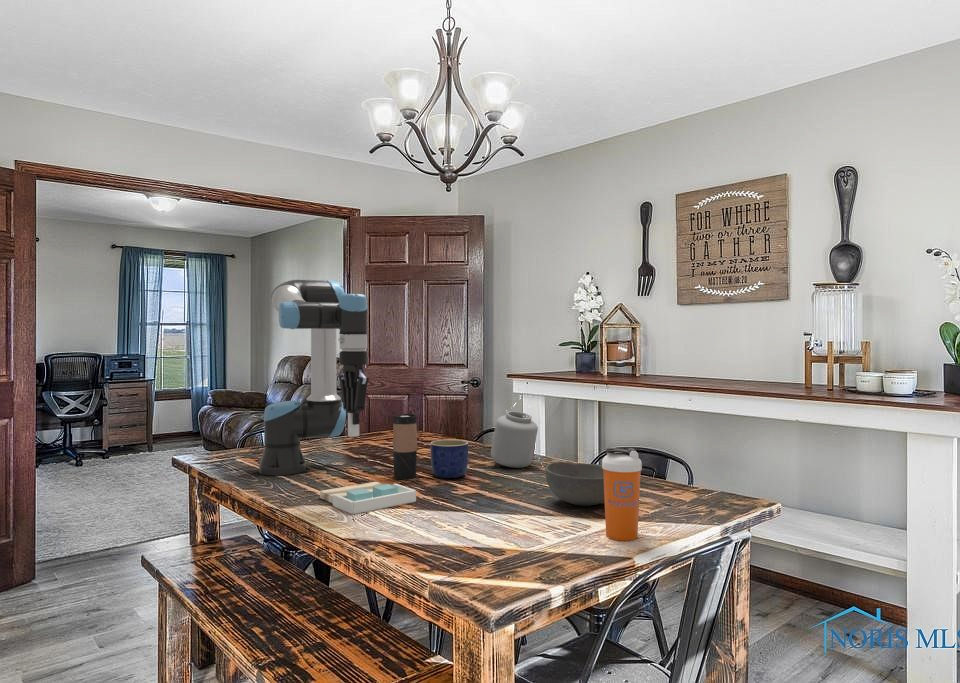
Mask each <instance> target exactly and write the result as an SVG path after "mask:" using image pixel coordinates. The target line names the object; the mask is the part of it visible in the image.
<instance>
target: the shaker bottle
mask: <svg viewBox="0 0 960 683" xmlns="http://www.w3.org/2000/svg"><path fill="white" fill-rule="evenodd" d="M604 450H605V451H606V455H605V456H604V457H603V458H602V461H601V465H602V469H603V478H604V500H605V502H604V516H605V517H604V519H605V535H606V537H607V538H609V539H611V540H614V541H618V542H619V541H623V542H628V541H634V540H636V539H638V535H639V534H638V533H639V516H640V515H639V512H640V510H639V508H640V495H641V491H640V490H641V472H642V470H643V463H642V460H641V458H639V453H638V452H637V450H636V449H635V448H633V447H630V448H627V449H626V448H625V449H624V448H618V447H617V448H616V447H608V448H605V449H604Z"/></svg>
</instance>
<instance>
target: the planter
mask: <svg viewBox="0 0 960 683" xmlns="http://www.w3.org/2000/svg"><path fill="white" fill-rule="evenodd" d="M429 444H430V445H429V446H430V463H431V471H432V473H433V475H434V476H436V477H437V478H442V479H456V478H461V477H464V475H465V474H466V473H467V470H468V461H469V442H468V441H467V440H463V439H438V440H433V441H431V442H430V443H429Z"/></svg>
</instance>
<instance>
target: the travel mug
mask: <svg viewBox="0 0 960 683" xmlns="http://www.w3.org/2000/svg"><path fill="white" fill-rule="evenodd" d="M392 419H393V422H392V424H393V425H392V428H393V430H392V434H393V436H392V439H393V440H392V455H393V456H392V458H393V459H392V460H393V478H395V479H397V480H410V479H411V480H412V479H414V478H416V477H417V463H418V462H417V460H418V456H417V455H418V447H417V446H418V443H417V442H418V439H417V438H418V436H417V433H418V432H417V430H418V428H417V427H418V426H417V424H418V423H417V415H416V414H413V413H404V414H402V415H397V414H394V415H393V418H392Z"/></svg>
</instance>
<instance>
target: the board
mask: <svg viewBox="0 0 960 683" xmlns="http://www.w3.org/2000/svg"><path fill="white" fill-rule="evenodd" d="M380 485H386V483H385V484H384V483H382V482H378V481H370V482H364V483H359V484H353V485H347V486H340V487H336V488H329V489H323V490H319V498H320V499H322V500H323V501H325V502H329V503H330V504H333V495H334V494H337V495H340V496H342V497H344V498H347V491H351V490H357V489H366V490H368V491H371V492H372V497H373V487H374V486H380Z"/></svg>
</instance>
